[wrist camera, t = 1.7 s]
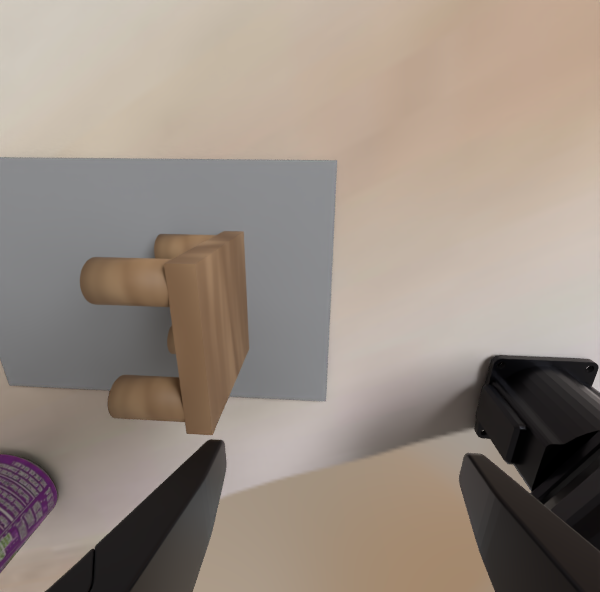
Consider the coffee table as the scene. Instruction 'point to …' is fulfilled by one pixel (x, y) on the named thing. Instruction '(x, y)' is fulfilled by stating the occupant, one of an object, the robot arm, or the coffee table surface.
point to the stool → (181, 324)
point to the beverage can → (22, 503)
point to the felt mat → (140, 244)
